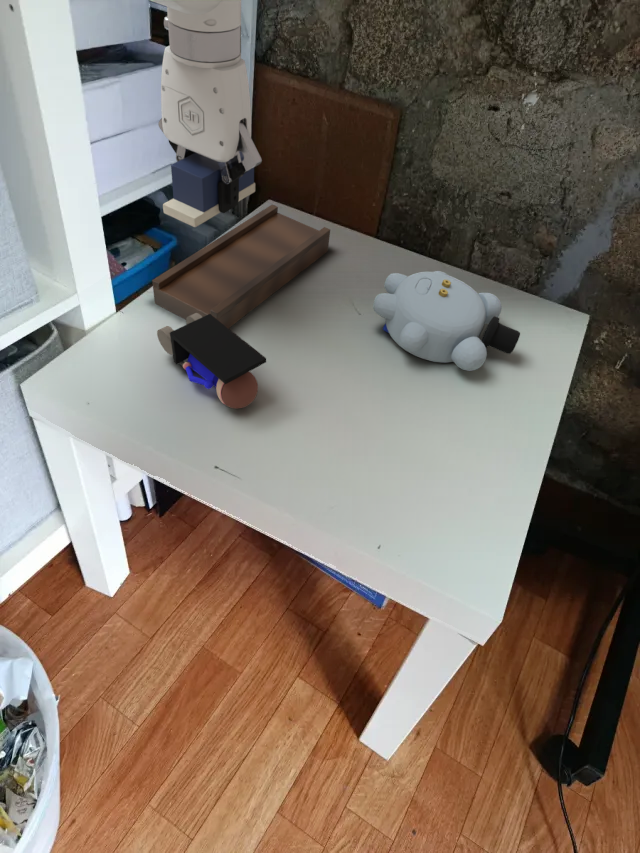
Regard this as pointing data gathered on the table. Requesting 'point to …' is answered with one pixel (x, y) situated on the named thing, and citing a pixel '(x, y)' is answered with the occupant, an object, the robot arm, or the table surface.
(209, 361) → the figurine character
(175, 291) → the brown wooden tray
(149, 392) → the table surface
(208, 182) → the blue milk carton
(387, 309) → the figurine
